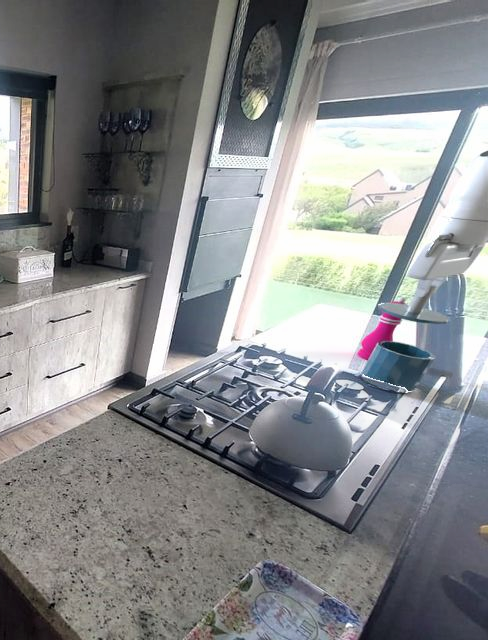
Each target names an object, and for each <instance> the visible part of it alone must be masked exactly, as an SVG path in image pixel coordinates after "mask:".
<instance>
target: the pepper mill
mask: <svg viewBox="0 0 488 640" xmlns="http://www.w3.org/2000/svg"><path fill="white" fill-rule="evenodd" d="M406 301H407V300H406V298H405V297H404V296H400V297H398V298H397V300H396V301H395V300H394V301H390V302H388V303H398V304H405V305H408V304H407V303H406ZM381 313H382V314H381V315H380V317H379V318H378V321H379V323H378V325H377V326H376V328H375V329H374V330H372V331H371V332H370V333H369V334H367V335H366V336H365V337H364V338H363V339H362V340H361V343H360V344H361V348H359V350H358V352H357V356H358V357H359V358H361V359H364V360H367V361H368V359H369V357H370V355H371V354H372V352H373V350H374V348H375V347H376V345H377V343H378V342H380V341H394V336H393V335H394V332H395V330H396V328H397V327H398V325H399V326H400V325H401V323H402V322H403V319H401V318H398V317H395V316H392V315H390V314H387V313H385V312H383V311H381Z"/></svg>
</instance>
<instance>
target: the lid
mask: <svg viewBox="0 0 488 640" xmlns="http://www.w3.org/2000/svg"><path fill="white" fill-rule="evenodd" d="M436 287H437V286H436V285H433V284H431V285H430V287H429V289H430V290H429V292H428V293H427V295H426V296H424V297H418V296H414V295H413V297H412V299H411V300H410V302H409V303H408V304H407V305H405V304H406V303H405V304H398V303H389V302H381V303H379V304H378V305H377V309H378V310H379V311H381V312H382V311H383V312H385V313H387V314H390V315H392V316H395V317H398V318H401V319H402V320H405V321H409V322H415V323H422V324H431V325H445V324H449V322H450V321H451V318H450V317H449V316H447V315H445V314H443V313H441V312H439V311H435V310H433V309H428V308H425V307H426V305H427V304H428V302H429V300H430V299H431V297H432V296H433V295H434V294H433V292H434V290H435V289H436ZM432 294H433V295H432Z"/></svg>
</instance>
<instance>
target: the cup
mask: <svg viewBox="0 0 488 640" xmlns="http://www.w3.org/2000/svg"><path fill="white" fill-rule="evenodd" d="M435 359H436V355H435V354H433V353H432V352H431V351H429V350H426V349H424V348H423V347H419V346H417V345H413V344H410V343H405V342H400V341H396V340H395V341H394V340H393V341H380V342H378V343H377V345H376V347H375V348H374V350H373V352H372V354H371V355H370V357H369V359H368V360H367V361H366V363H365V365H364V366H363V368H362V370H361V371H360V374H361V373H362V374H364V375H365V376H368V377H370V378H373V379H376V380H380V381H384V382H387V383H390V384H393V385H396V386H401V387H405V388H406V389H407V390H408V391H413V390H414V391H415V390H416V389H417V387H418V386H419V384H420V382H421V381H422V380H423V378H424V376H425V374H426V373H427V371H428V370H429V368H430V367H431V365H432V364H433V362H434V361H435ZM414 391H413V392H414Z"/></svg>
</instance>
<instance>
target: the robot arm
mask: <svg viewBox="0 0 488 640" xmlns="http://www.w3.org/2000/svg"><path fill="white" fill-rule="evenodd" d="M427 238H428V239H429V240H432V241H428V242H425V244H424V245H423V246H422V247H421V249H420V250H419V251H418V253H417V255H416V256H415V258H413V259H414V260H412V262H411V264H410V266H409V267H408V269H407V271H406V277H407V278H410V279H414V280H417V285H416V289H415V291H414V292H413V297H414V296H418V297H424V296H426V295H427V293H428V292H429V290H430V289H429V287H430V285H431V284H433V285H436V286H437V287H436V289H435V290H434V292H433V294H432V295H431V296H434V295H435V294H436V292H437V291H438V289H439V288H440V287H441V285H442V284H444V283H445V282H446V280H447V278H448V277H451V276H458V275H463V274H464V273H465V272H466V271H467V270H468V269H469V268H471V266H472V264H473V263H474V262H475V260H476V259H477V258H478V256H479V255H480V254H481V252H482V251H483V249H484V248H485V246H486V244H487V243H488V150H486V151H483V152H481V153H480V154H478V155H477V156H476V157H475V158H474V159H473V160H472V162H471V163H470V164H469V165H468V166H467V168H466V169H465V170H464V172H463V174H462V175H461V177H460V178H459V180H458V182H457V183H456V185H455V187H454V189H453V190H452V192H451V195H450V200H449V203H448V204H447V206H446V207H445V208H444V210H442V211H441V213H440V214H439V215H438V218H437V219H436V221H435V224H434V225H433V226H432V228H431V231H430V232H429V234H428V236H427Z"/></svg>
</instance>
